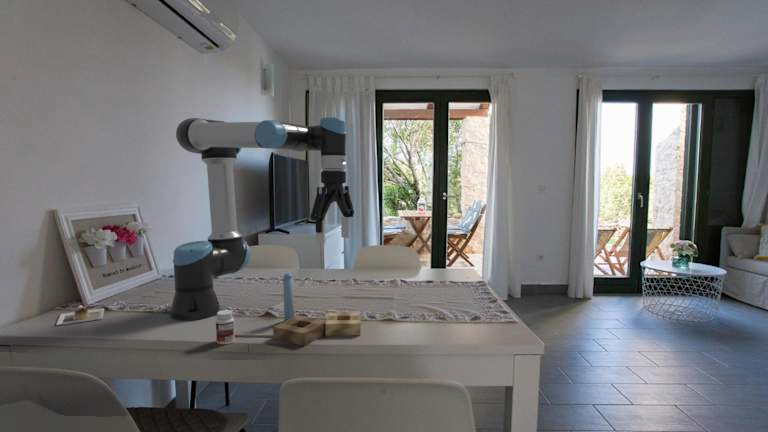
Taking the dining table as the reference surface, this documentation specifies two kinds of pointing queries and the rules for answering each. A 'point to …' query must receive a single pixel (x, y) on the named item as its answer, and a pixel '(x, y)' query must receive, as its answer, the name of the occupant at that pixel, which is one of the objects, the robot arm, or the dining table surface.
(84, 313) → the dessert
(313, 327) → the square wooden ring
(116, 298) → the dining table surface
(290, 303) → the blue-grey peg
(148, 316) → the dining table surface
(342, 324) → the light wood square frame
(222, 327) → the pill bottle
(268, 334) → the thin wooden stick
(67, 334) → the dining table surface
